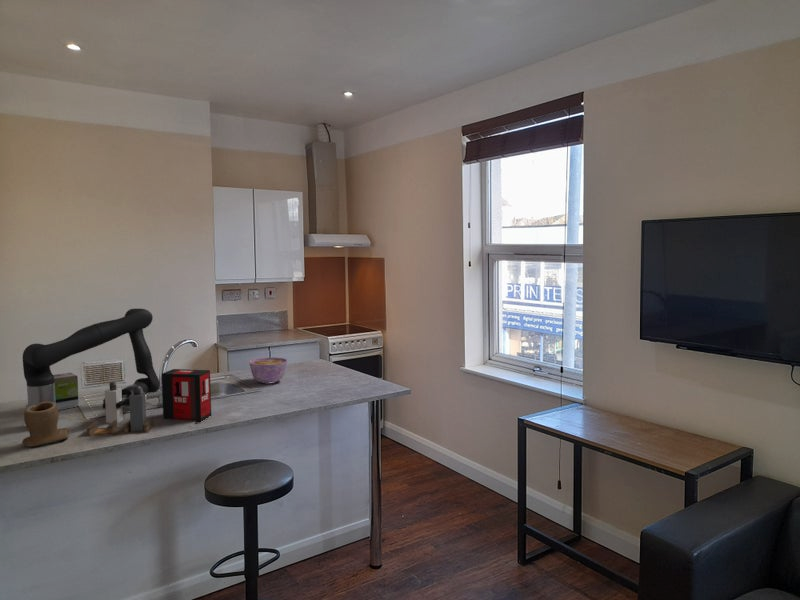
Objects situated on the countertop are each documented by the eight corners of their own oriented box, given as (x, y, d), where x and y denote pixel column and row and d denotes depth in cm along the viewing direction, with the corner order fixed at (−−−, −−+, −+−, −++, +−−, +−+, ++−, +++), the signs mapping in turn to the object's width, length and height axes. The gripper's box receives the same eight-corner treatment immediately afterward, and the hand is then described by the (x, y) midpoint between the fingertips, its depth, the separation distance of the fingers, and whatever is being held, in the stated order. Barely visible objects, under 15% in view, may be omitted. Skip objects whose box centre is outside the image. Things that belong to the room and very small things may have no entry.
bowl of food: (241, 383, 286) (241, 361, 285) (270, 376, 302) (270, 355, 301) (267, 388, 275) (266, 366, 274) (295, 381, 291) (295, 360, 290)
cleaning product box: (211, 416, 229) (209, 370, 227) (200, 422, 220) (199, 375, 218) (175, 414, 231) (173, 369, 229) (163, 421, 222) (161, 373, 221)
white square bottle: (106, 425, 217) (104, 384, 215) (111, 421, 221) (109, 381, 220) (117, 425, 217) (115, 383, 215) (123, 421, 221) (121, 381, 220)
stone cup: (25, 452, 188) (23, 410, 186) (20, 443, 196) (17, 403, 195) (75, 442, 198) (73, 402, 197) (68, 434, 207) (65, 395, 205)
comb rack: (84, 439, 201) (84, 429, 200) (94, 430, 210) (93, 420, 210) (148, 435, 205) (147, 425, 205) (154, 427, 215) (154, 417, 214)
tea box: (40, 414, 231) (38, 380, 230) (34, 409, 238) (32, 377, 237) (79, 407, 242) (77, 374, 241) (72, 402, 249) (70, 371, 248)
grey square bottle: (130, 431, 206) (128, 388, 205) (134, 427, 211) (132, 385, 209) (143, 431, 207) (141, 387, 206) (146, 427, 212) (144, 384, 210)
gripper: (113, 386, 232) (91, 397, 215) (146, 386, 233) (128, 396, 216) (114, 403, 233) (92, 415, 216) (147, 403, 233) (128, 415, 216)
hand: (110, 406), depth 216 cm, fingers closed on white square bottle, 4 cm apart
